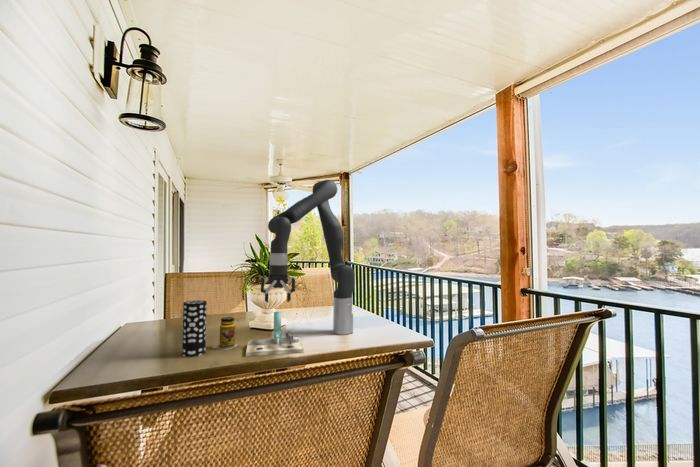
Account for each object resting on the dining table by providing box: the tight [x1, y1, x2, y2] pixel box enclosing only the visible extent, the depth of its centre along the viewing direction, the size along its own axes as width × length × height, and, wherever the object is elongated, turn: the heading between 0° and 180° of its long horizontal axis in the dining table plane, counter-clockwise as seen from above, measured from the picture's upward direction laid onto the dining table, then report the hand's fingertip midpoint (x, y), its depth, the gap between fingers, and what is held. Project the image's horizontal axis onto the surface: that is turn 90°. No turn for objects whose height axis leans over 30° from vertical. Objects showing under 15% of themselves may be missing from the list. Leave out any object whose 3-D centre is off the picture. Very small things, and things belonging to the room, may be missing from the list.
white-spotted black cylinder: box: [181, 299, 208, 358], centre depth 133 cm, size 8×8×20 cm
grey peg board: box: [245, 329, 305, 357], centre depth 139 cm, size 22×14×6 cm, turn 104°
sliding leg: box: [273, 311, 282, 345], centre depth 140 cm, size 3×9×12 cm, turn 14°
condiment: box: [211, 316, 239, 351], centre depth 142 cm, size 7×8×12 cm
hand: (277, 302), depth 143 cm, fingers open, 8 cm apart
